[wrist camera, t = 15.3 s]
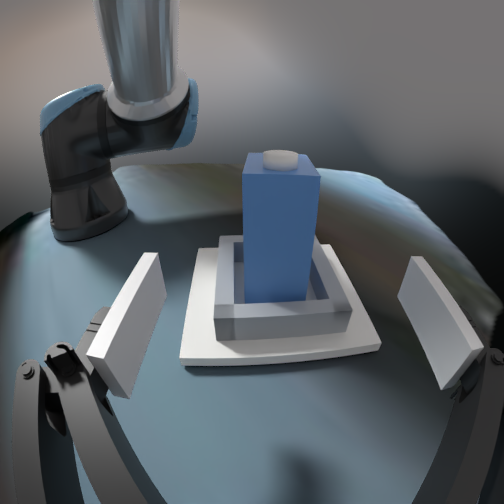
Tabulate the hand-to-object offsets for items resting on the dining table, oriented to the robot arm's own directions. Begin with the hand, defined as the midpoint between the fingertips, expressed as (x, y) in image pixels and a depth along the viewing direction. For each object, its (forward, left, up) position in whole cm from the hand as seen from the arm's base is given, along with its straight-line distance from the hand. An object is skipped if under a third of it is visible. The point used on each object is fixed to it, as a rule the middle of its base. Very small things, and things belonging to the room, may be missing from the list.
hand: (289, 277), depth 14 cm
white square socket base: (-10, +1, -9) cm, 14 cm away
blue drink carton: (-10, +1, -8) cm, 13 cm away
